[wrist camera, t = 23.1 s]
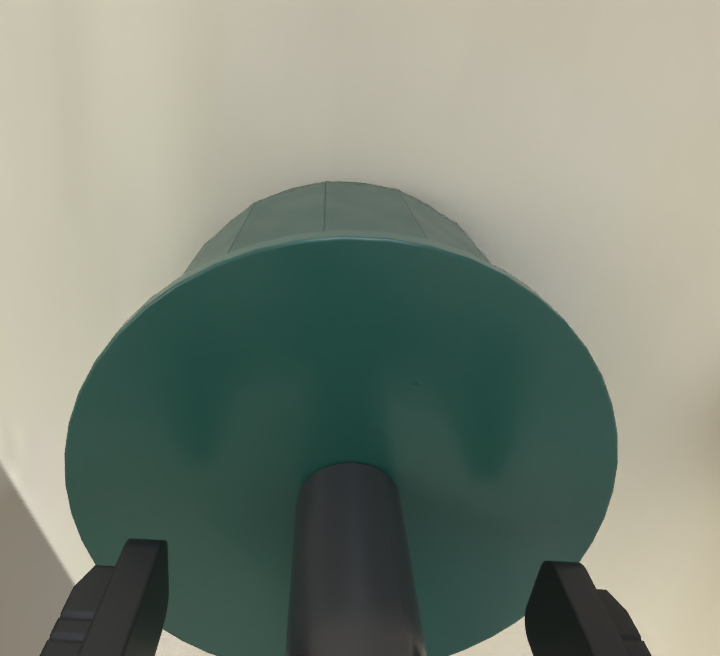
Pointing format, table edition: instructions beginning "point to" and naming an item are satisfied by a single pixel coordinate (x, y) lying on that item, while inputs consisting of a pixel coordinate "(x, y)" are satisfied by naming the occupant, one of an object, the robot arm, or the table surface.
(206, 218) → the table surface
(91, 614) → the robot arm
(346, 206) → the tin
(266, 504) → the lid
